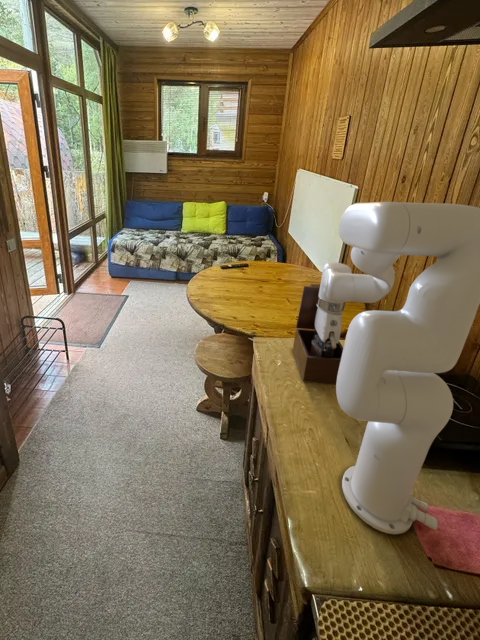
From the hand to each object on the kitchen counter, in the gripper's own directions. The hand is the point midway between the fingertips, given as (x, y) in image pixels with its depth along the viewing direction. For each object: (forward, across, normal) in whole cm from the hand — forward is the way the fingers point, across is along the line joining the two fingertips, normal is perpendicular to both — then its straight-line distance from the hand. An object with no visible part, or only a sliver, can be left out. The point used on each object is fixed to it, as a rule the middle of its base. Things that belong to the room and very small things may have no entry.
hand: (321, 352), depth 98 cm
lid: (-11, +8, 0) cm, 13 cm away
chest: (+6, +1, 0) cm, 7 cm away
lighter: (+6, 0, 0) cm, 6 cm away
